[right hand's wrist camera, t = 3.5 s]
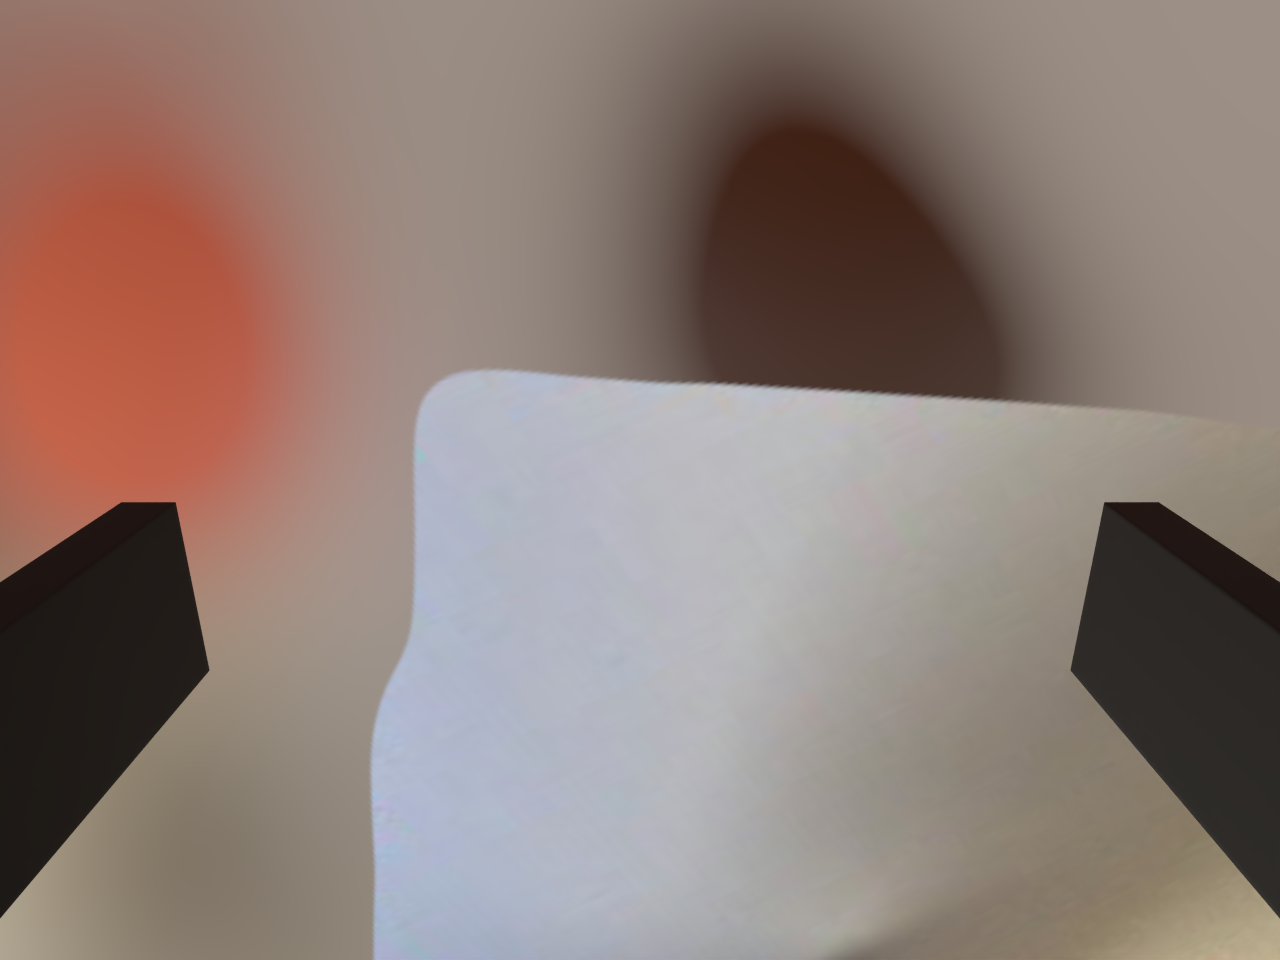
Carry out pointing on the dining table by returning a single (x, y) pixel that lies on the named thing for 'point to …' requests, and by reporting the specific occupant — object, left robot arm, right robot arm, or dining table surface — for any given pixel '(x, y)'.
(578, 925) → the dining table surface
